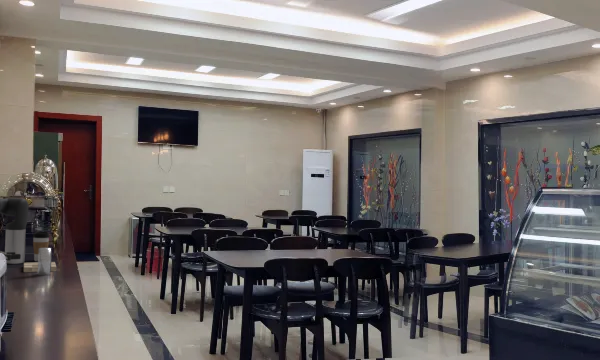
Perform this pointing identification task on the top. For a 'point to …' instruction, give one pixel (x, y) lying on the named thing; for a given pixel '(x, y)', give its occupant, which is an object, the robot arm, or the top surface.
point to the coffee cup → (40, 242)
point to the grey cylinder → (44, 261)
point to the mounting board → (36, 267)
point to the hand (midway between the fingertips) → (17, 255)
